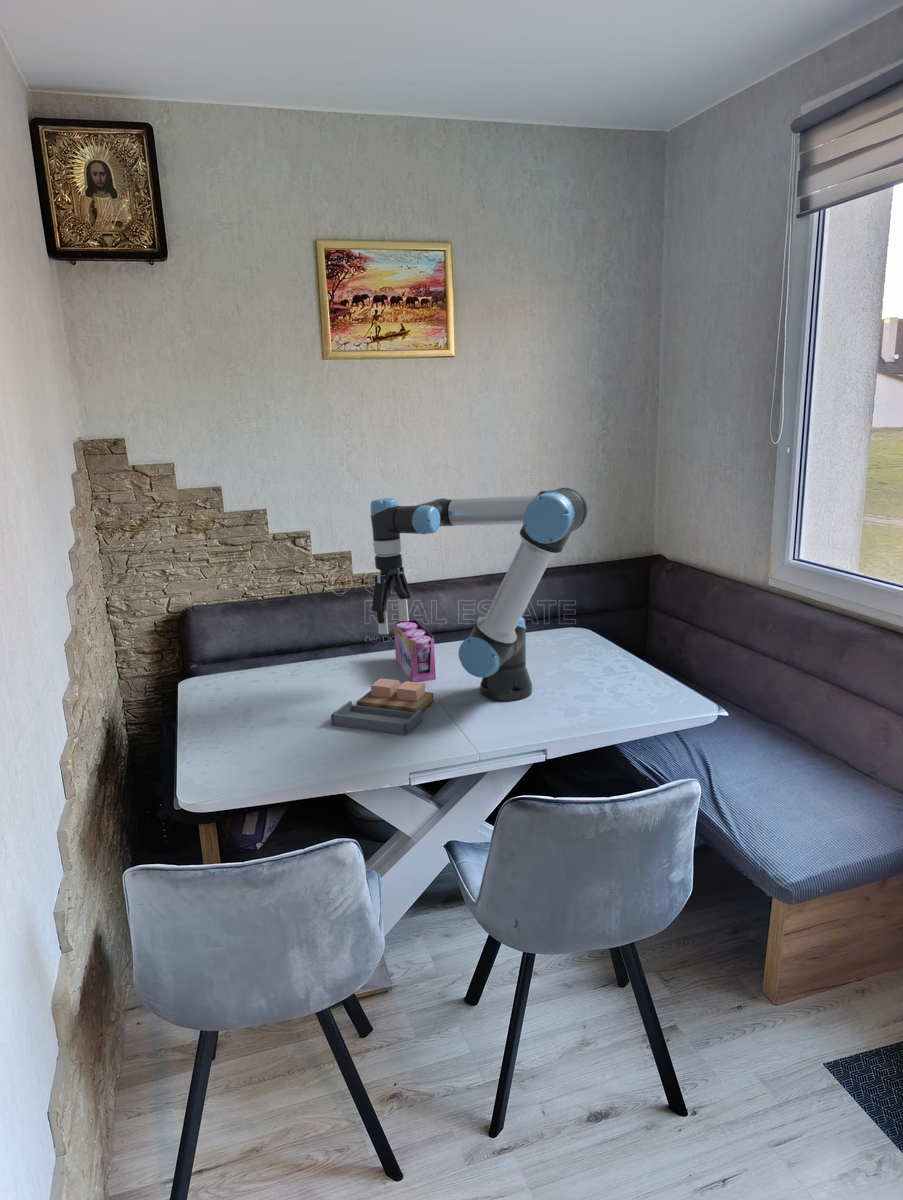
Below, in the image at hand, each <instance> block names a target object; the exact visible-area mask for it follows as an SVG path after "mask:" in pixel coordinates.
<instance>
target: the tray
mask: <svg viewBox="0 0 903 1200" xmlns="http://www.w3.org/2000/svg"><path fill="white" fill-rule="evenodd" d="M330 718H331V726H335V727H336V726H337V727H342V728H351V729H357V730H364V731H370V732H371V731H373V732H379V733H386V734H393V735H401V736H407V735H409V734H410V733H411V732H412V731H413V730H414V729H415V728H416V727H417V726H418V725H419V724H421V723H422V722H423V713H422V710H418V711H417V712H416V713H414V712H406V711H398V710H390V709H382V708H374V707H366V706H358V705H357V704H353V701H351V700H349V701H348V702H346V703H345V704H343V705H342V706H341V707H340V708H337V709H336V711H334V712H333V713H331V715H330Z"/></svg>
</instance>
